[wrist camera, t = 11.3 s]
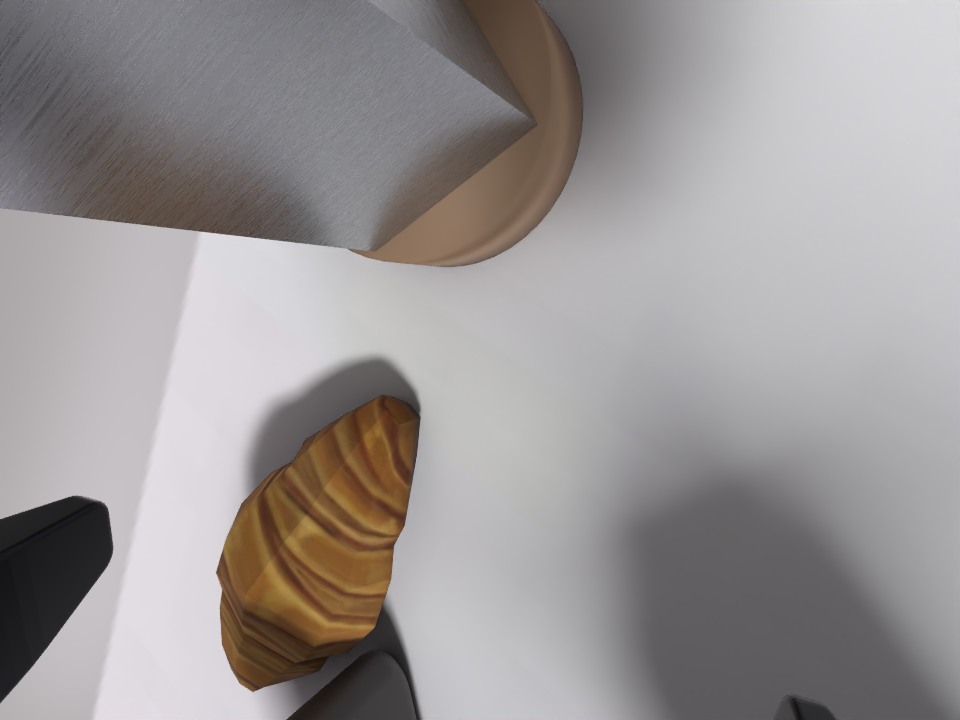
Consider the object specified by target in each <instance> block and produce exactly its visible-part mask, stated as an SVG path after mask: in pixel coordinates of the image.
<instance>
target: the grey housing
mask: <svg viewBox="0 0 960 720" xmlns="http://www.w3.org/2000/svg"><path fill="white" fill-rule="evenodd" d="M537 125H538V123H537V122H536V120H535V118H534V117H533V115H532V113H531V112H530V110H529V108H528V107H527V105H526V103H525V102H524V100H523V98H522V97H521V95H520V93H519V92H518V90H517V88H516V86H515V85H514V83H513V81H512V80H511V78H510V76H509V75H508V73H507V71H506V70H505V68H504V66H503V65H502V63H501V61H500V60H499V58H498V56H497V55H496V53H495V51H494V50H493V48H492V46H491V45H490V43H489V41H488V39H487V38H486V36H485V34H484V33H483V31H482V29H481V28H480V26H479V24H478V23H477V21H476V19H475V18H474V16H473V14H472V13H471V11H470V9H469V8H468V6H467V4H466V3H465V1H464V0H0V208H3V209H12V210H21V211H29V212H38V213H46V214H55V215H64V216H72V217H82V218H90V219H98V220H107V221H115V222H124V223H132V224H141V225H150V226H158V227H167V228H175V229H184V230H193V231H201V232H209V233H218V234H227V235H235V236H244V237H252V238H261V239H270V240H278V241H287V242H295V243H304V244H313V245H321V246H330V247H338V248H347V249H355V250H364V251H373V252H376V251H377V250H378V249H380V248H381V247H382V246H383V245H385V244H386V243H387V242H389V241H390V240H391V239H392V238H394V237H395V236H396V235H398V234H399V233H400V232H401V231H403V230H404V229H405V228H407V227H408V226H409V225H410V224H412V223H413V222H414V221H415V220H417V219H418V218H419V217H421V216H422V215H423V214H424V213H426V212H427V211H428V210H430V209H431V208H432V207H433V206H435V205H436V204H437V203H439V202H440V201H441V200H442V199H444V198H445V197H446V196H448V195H449V194H450V193H451V192H453V191H454V190H455V189H456V188H458V187H459V186H460V185H462V184H463V183H464V182H465V181H467V180H468V179H469V178H471V177H472V176H473V175H474V174H476V173H477V172H478V171H480V170H481V169H482V168H483V167H485V166H486V165H487V164H489V163H490V162H491V161H492V160H494V159H495V158H496V157H497V156H499V155H500V154H501V153H503V152H504V151H505V150H506V149H508V148H509V147H510V146H512V145H513V144H514V143H515V142H517V141H518V140H519V139H521V138H522V137H523V136H524V135H526V134H527V133H528V132H529V131H531V130H532V129H533V128H535V127H536V126H537Z"/></svg>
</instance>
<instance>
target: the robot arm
mask: <svg viewBox="0 0 960 720" xmlns="http://www.w3.org/2000/svg"><path fill="white" fill-rule="evenodd" d="M112 554H113V541H112V533H111V526H110V518H109V512H108V508H107V507H106V505H105V504H104V503H103V502H101V501H97V500H94V499H90V498H87V497H83V496H72V497H68V498H65V499H62V500H58V501H55V502H52V503H49V504H47V505H43V506H40V507H37V508H34V509H31V510H28V511H25V512H21V513H18V514H15V515H12V516H9V517H6V518H3V519H0V703H1V702H2V701H3V700H4V698H5V697H6V696H7V695H8V694H9V693H10V692H11V691H12V689H13V688H14V687H15V686H16V685H17V684H18V683H19V682H20V680H21V679H22V678H23V677H24V675H25V674H26V673H27V672H28V671H29V670H30V669H31V667H32V666H33V665H34V664H35V662H36V661H37V660H38V659H39V657H40V656H41V655H42V653H43V652H44V651H45V650H46V648H47V647H48V646H49V644H50V643H51V642H52V640H53V639H54V637H55V636H56V635H57V634H58V632H59V631H60V630H61V628H62V627H63V625H64V624H65V623H66V621H67V620H68V619H69V617H70V616H71V615H72V613H73V612H74V610H75V609H76V608H77V607H78V605H79V604H80V603H81V601H82V600H83V598H84V597H85V596H86V594H87V593H88V592H89V590H90V589H91V588H92V586H93V585H94V584H95V582H96V581H97V580H98V578H99V577H100V576H101V574H102V573H103V572H104V570H105V569H106V567H107V566H108V564H109V562H110V559H111V557H112ZM773 720H837V718H836V717H835V716H834V714H833V713H832V712H831V711H830V710H829V708H827V707H826V706H825V705H824V704H822V703H820V702H817V701H814V700H810V699H807V698H803V697H799V696H796V695H787V696H785V697H784V698H783V700H782V701H781V703H780V705H779V707H778V709H777V711H776V713H775V715H774V718H773Z"/></svg>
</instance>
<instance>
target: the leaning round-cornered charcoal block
mask: <svg viewBox="0 0 960 720" xmlns="http://www.w3.org/2000/svg"><path fill="white" fill-rule="evenodd" d="M287 720H417V719H416V715H415V710H414V706H413V701H412V697H411V692H410V688H409V685H408V682H407V679H406V676H405V674H404V672H403V670H402V669H401V667H400V666H399V664H398V663H397V662H396V661H395V659H394V658H393V657H391V656H390V655H389V654H387V653H385V652H382V651H370V652H367V653H365V654H363V655H361V656H360V657H359V658H358V659H356V660H355V661H354V662H353V663H352V664H351V665H349V666H348V667H347V668H346V669H345V670H344V671H342V672H341V673H340V674H339V675H338V676H337V677H335V678H334V679H333V680H332V681H331V682H330V683H328V684H327V685H326V686H325V687H324V688H323V689H321V690H320V691H319V692H318V693H317V694H316V695H314V696H313V697H312V698H311V699H310V700H309V701H307V702H306V703H305V704H304V705H303V706H302V707H300V708H299V709H298V710H297V711H296V712H295V713H294V714H292V715H291V716H290V717H289V718H288V719H287Z"/></svg>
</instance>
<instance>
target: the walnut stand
mask: <svg viewBox="0 0 960 720" xmlns="http://www.w3.org/2000/svg"><path fill="white" fill-rule="evenodd" d="M464 1H465V3H466V4H467V6H468V8H469V9H470V11H471V13H472V14H473V16H474V18H475V19H476V21H477V23H478V24H479V26H480V28H481V29H482V31H483V33H484V34H485V36H486V38H487V39H488V41H489V43H490V45H491V46H492V48H493V50H494V51H495V53H496V55H497V56H498V58H499V60H500V61H501V63H502V65H503V66H504V68H505V70H506V71H507V73H508V75H509V76H510V78H511V80H512V81H513V83H514V85H515V86H516V88H517V90H518V92H519V93H520V95H521V97H522V98H523V100H524V102H525V103H526V105H527V107H528V108H529V110H530V112H531V113H532V115H533V117H534V118H535V120H536V122H537V123H538V125H537V126H536V127H535V128H533V129H532V130H531V131H529V132H528V133H527V134H526V135H524V136H523V137H522V138H521V139H519V140H518V141H517V142H515V143H514V144H513V145H512V146H510V147H509V148H508V149H506V150H505V151H504V152H503V153H501V154H500V155H499V156H497V157H496V158H495V159H494V160H492V161H491V162H490V163H489V164H487V165H486V166H485V167H483V168H482V169H481V170H480V171H478V172H477V173H476V174H474V175H473V176H472V177H471V178H469V179H468V180H467V181H465V182H464V183H463V184H462V185H460V186H459V187H458V188H456V189H455V190H454V191H453V192H451V193H450V194H449V195H448V196H446V197H445V198H444V199H442V200H441V201H440V202H439V203H437V204H436V205H435V206H433V207H432V208H431V209H430V210H428V211H427V212H426V213H424V214H423V215H422V216H421V217H419V218H418V219H417V220H415V221H414V222H413V223H412V224H410V225H409V226H408V227H407V228H405V229H404V230H403V231H401V232H400V233H399V234H398V235H396V236H395V237H394V238H392V239H391V240H390V241H389V242H387V243H386V244H385V245H383V246H382V247H381V248H380V249H378V250H377V251H376V252H373V251H364V250H355V249H349V250H351V251H352V252H355V253H357V254H360V255H362V256H365V257H367V258H372V259H376V260H380V261H386V262H396V263H407V264H417V265H428V266H440V267H455V266H465V265H469V264H474V263H478V262H481V261H484V260H487V259H489V258H492V257H494V256H496V255H498V254H500V253H502V252H504V251H506V250H507V249H509V248H511V247H512V246H514V245H515V244H516V243H518V242H519V241H520V240H522V239H523V238H525V237H526V236H527V235H528V234H529V233H530V232H531V231H532V230H533V229H534V228H535V227H536V226H537V225H538V224H539V223H540V222H541V221H542V219H543V218H544V217H545V216H546V215H547V213H548V212H549V211H550V210H551V208H552V207H553V205H554V203H555V202H556V200H557V199H558V197H559V196H560V194H561V192H562V190H563V188H564V186H565V184H566V182H567V180H568V178H569V176H570V173H571V170H572V167H573V164H574V162H575V159H576V156H577V151H578V146H579V142H580V137H581V129H582V118H583V108H582V91H581V85H580V79H579V74H578V71H577V67H576V64H575V61H574V57H573V55H572V53H571V51H570V48H569V46H568V44H567V42H566V40H565V38H564V37H563V35H562V34H561V32H560V31H559V29H558V27H557V26H556V24H555V23H554V22H553V21H552V19H551V18H550V17H549V16H548V15H547V13H546V12H545V11H544V10H543V8H542V7H541V6H540V5H539V3H538V2H537V1H536V0H464Z"/></svg>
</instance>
